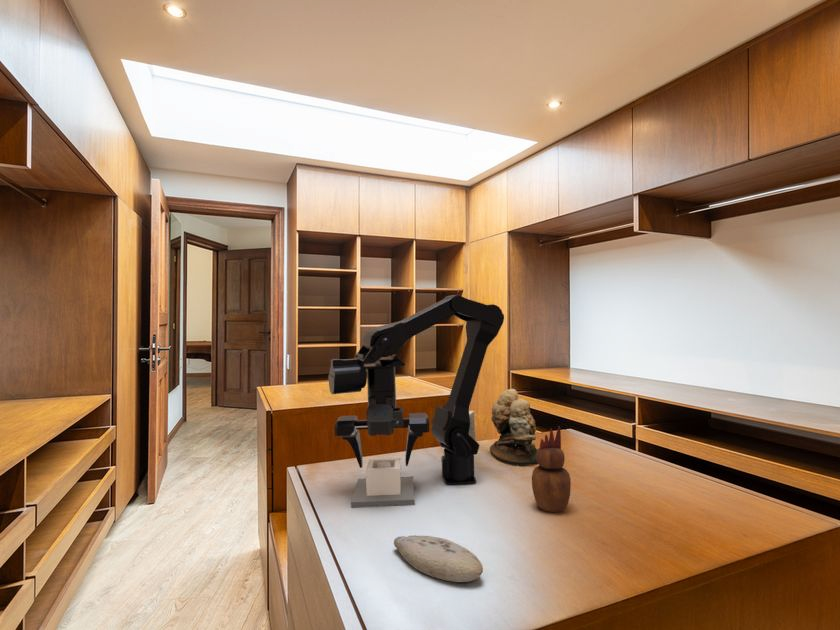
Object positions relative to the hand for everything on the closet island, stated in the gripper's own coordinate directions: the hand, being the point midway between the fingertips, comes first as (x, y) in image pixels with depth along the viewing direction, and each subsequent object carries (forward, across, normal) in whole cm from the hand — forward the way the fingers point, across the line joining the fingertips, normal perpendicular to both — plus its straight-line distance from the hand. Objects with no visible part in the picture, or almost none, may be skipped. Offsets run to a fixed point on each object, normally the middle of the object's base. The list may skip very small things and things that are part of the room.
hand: (384, 466), depth 89 cm
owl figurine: (+6, +32, +20) cm, 38 cm away
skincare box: (+6, +20, +26) cm, 33 cm away
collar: (+4, 0, 0) cm, 4 cm away
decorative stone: (+6, +9, -26) cm, 28 cm away
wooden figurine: (+6, +31, -10) cm, 33 cm away
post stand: (+6, 0, 0) cm, 6 cm away
